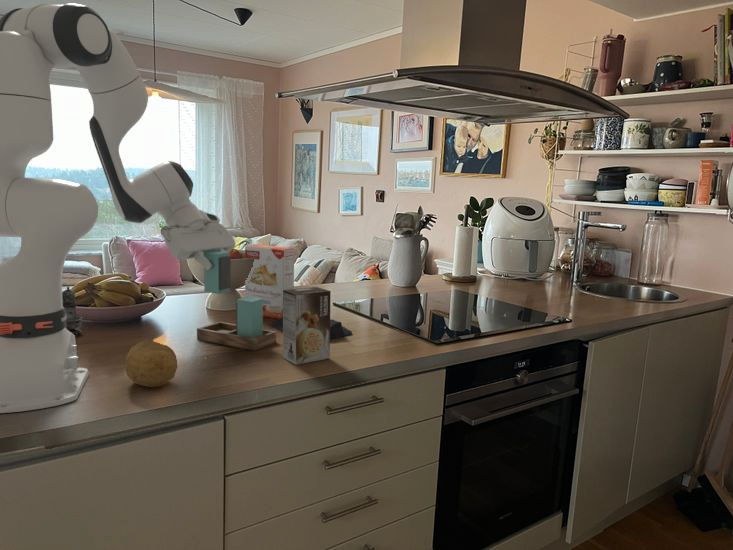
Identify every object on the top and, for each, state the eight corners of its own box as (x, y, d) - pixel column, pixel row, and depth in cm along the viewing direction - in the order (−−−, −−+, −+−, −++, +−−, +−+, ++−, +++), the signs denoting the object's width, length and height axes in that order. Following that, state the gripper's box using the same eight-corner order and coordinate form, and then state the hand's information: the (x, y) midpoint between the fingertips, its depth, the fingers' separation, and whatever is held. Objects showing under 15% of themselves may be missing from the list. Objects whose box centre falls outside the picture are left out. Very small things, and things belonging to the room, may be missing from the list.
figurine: (52, 333, 139) (49, 286, 137) (73, 328, 145) (71, 283, 143) (66, 337, 137) (64, 289, 135) (88, 331, 142) (86, 285, 140)
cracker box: (243, 314, 167) (243, 245, 163) (256, 310, 172) (256, 243, 169) (282, 320, 161) (283, 249, 157) (294, 316, 166) (295, 247, 163)
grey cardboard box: (316, 351, 133) (317, 286, 130) (330, 359, 128) (332, 290, 125) (281, 357, 127) (282, 289, 125) (295, 365, 122) (296, 294, 120)
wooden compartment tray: (276, 342, 139) (276, 331, 139) (255, 350, 132) (255, 339, 131) (219, 331, 147) (219, 321, 146) (197, 338, 139) (196, 328, 139)
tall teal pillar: (231, 291, 141) (231, 252, 139) (220, 294, 137) (219, 254, 135) (216, 289, 143) (215, 250, 141) (204, 291, 139) (204, 252, 137)
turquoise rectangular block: (262, 337, 138) (262, 298, 137) (251, 341, 134) (251, 301, 133) (246, 334, 140) (246, 296, 139) (235, 338, 136) (235, 299, 135)
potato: (166, 369, 117) (166, 332, 115) (187, 390, 105) (187, 350, 104) (117, 377, 111) (115, 338, 110) (133, 400, 100) (132, 358, 99)
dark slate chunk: (311, 319, 165) (311, 304, 164) (356, 337, 148) (357, 320, 147) (265, 326, 155) (265, 310, 154) (308, 346, 138) (308, 327, 138)
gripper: (164, 218, 130) (196, 263, 128) (221, 215, 149) (251, 254, 146) (150, 235, 133) (182, 280, 131) (208, 231, 151) (237, 269, 149)
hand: (219, 266), depth 139 cm, fingers closed on tall teal pillar, 4 cm apart
